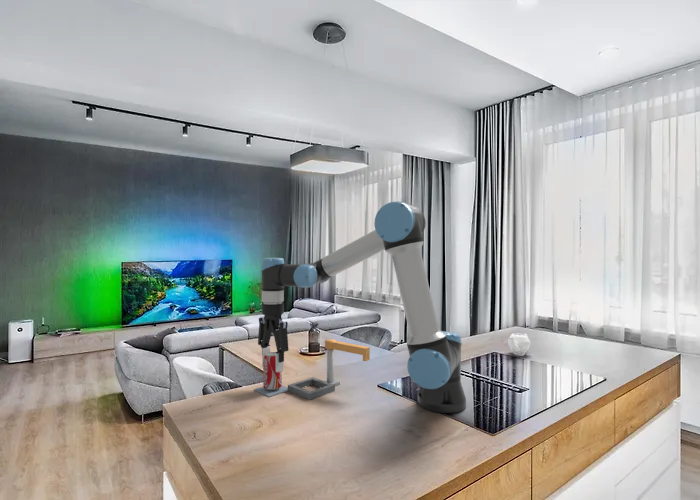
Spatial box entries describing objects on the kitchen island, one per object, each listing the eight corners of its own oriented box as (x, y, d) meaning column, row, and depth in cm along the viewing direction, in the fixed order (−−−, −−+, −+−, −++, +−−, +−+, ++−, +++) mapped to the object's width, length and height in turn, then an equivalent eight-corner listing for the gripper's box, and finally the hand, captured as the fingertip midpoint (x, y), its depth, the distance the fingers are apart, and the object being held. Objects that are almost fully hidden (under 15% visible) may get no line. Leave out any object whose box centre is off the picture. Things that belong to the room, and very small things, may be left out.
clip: (329, 350, 150) (329, 338, 150) (370, 359, 140) (370, 346, 140) (322, 353, 147) (322, 340, 147) (364, 361, 136) (364, 348, 136)
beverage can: (277, 392, 138) (277, 356, 138) (260, 391, 139) (260, 355, 139) (284, 386, 144) (283, 352, 144) (267, 385, 145) (267, 351, 145)
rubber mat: (291, 390, 142) (291, 388, 142) (269, 397, 135) (269, 395, 135) (275, 383, 148) (275, 382, 148) (254, 390, 141) (254, 389, 141)
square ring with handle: (346, 386, 145) (346, 350, 145) (309, 400, 133) (309, 360, 133) (324, 378, 153) (324, 345, 153) (287, 390, 141) (287, 354, 141)
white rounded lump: (537, 352, 193) (538, 332, 193) (520, 360, 179) (520, 339, 178) (517, 348, 200) (517, 329, 199) (499, 356, 185) (499, 336, 185)
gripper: (299, 304, 137) (299, 372, 137) (265, 298, 150) (265, 360, 151) (281, 307, 131) (281, 378, 132) (247, 300, 145) (247, 364, 146)
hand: (272, 368), depth 141 cm, fingers open, 7 cm apart
